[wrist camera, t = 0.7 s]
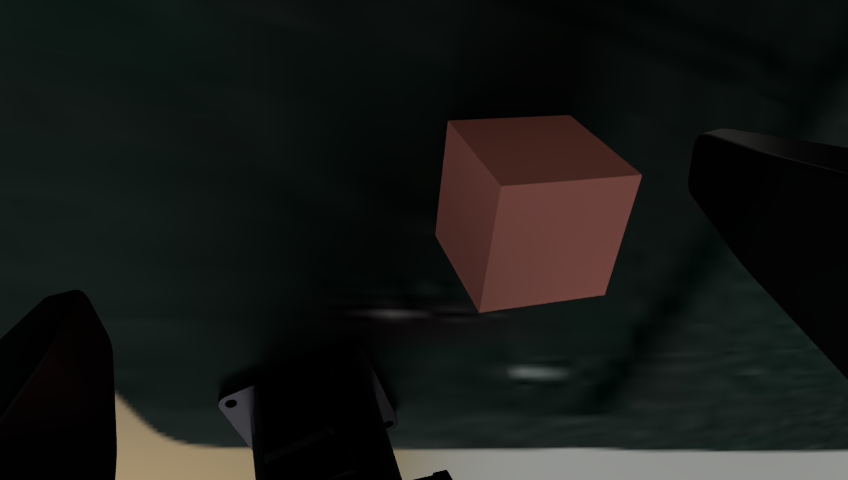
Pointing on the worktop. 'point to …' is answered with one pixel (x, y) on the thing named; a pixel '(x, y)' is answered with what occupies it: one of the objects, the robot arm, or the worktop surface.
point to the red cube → (531, 209)
